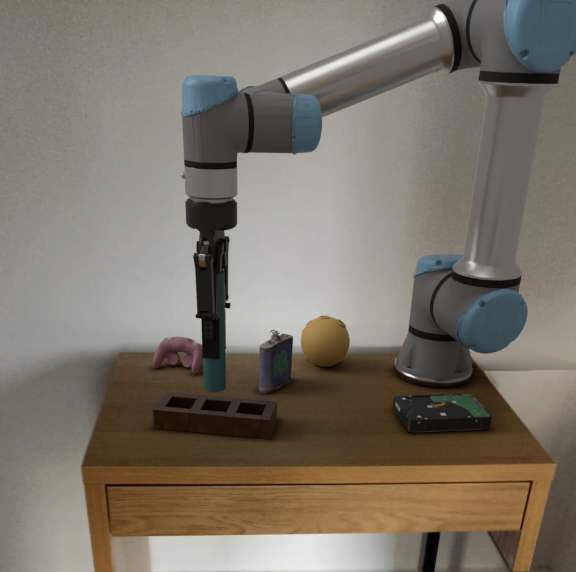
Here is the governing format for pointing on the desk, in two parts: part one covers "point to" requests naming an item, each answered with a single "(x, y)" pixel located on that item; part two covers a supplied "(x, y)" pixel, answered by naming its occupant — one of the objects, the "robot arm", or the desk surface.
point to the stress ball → (325, 341)
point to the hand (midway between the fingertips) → (214, 353)
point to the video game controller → (179, 344)
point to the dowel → (217, 367)
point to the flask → (275, 362)
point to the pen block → (215, 415)
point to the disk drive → (441, 413)
